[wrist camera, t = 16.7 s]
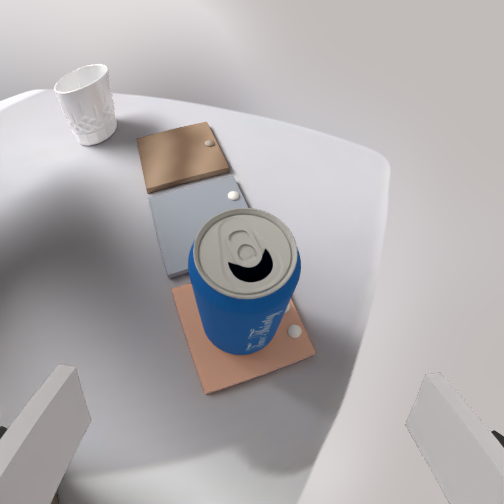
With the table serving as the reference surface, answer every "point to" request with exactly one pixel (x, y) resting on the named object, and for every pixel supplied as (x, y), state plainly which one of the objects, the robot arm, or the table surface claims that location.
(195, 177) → the one-dot tile
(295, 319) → the three-dot tile
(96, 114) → the white cup
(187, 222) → the two-dot tile
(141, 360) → the table surface
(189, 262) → the beverage can
